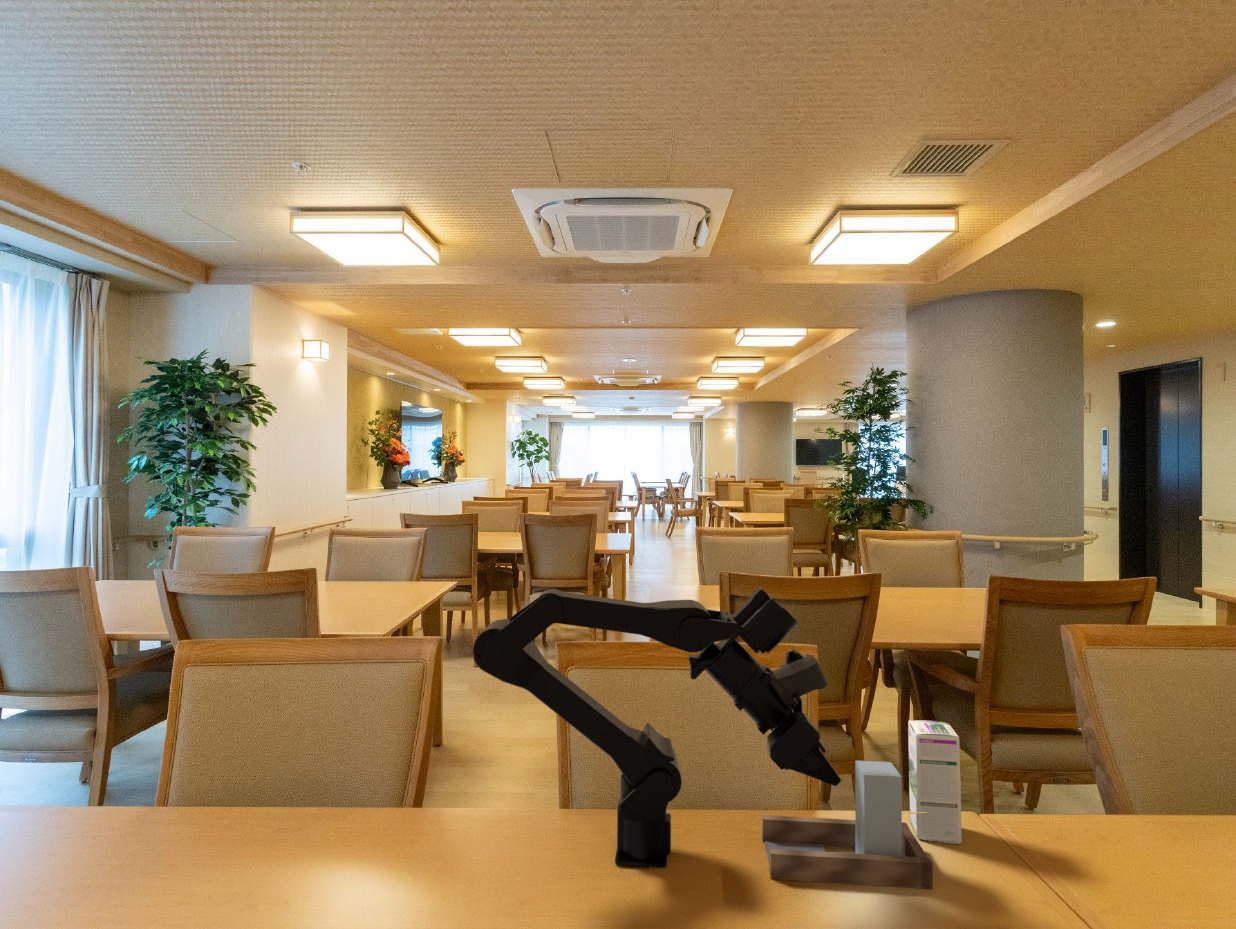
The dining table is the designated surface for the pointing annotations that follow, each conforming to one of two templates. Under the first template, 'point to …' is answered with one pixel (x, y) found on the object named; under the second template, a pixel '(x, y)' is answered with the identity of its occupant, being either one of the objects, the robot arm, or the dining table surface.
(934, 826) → the syrup box
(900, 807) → the slate block
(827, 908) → the dining table surface
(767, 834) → the frame
